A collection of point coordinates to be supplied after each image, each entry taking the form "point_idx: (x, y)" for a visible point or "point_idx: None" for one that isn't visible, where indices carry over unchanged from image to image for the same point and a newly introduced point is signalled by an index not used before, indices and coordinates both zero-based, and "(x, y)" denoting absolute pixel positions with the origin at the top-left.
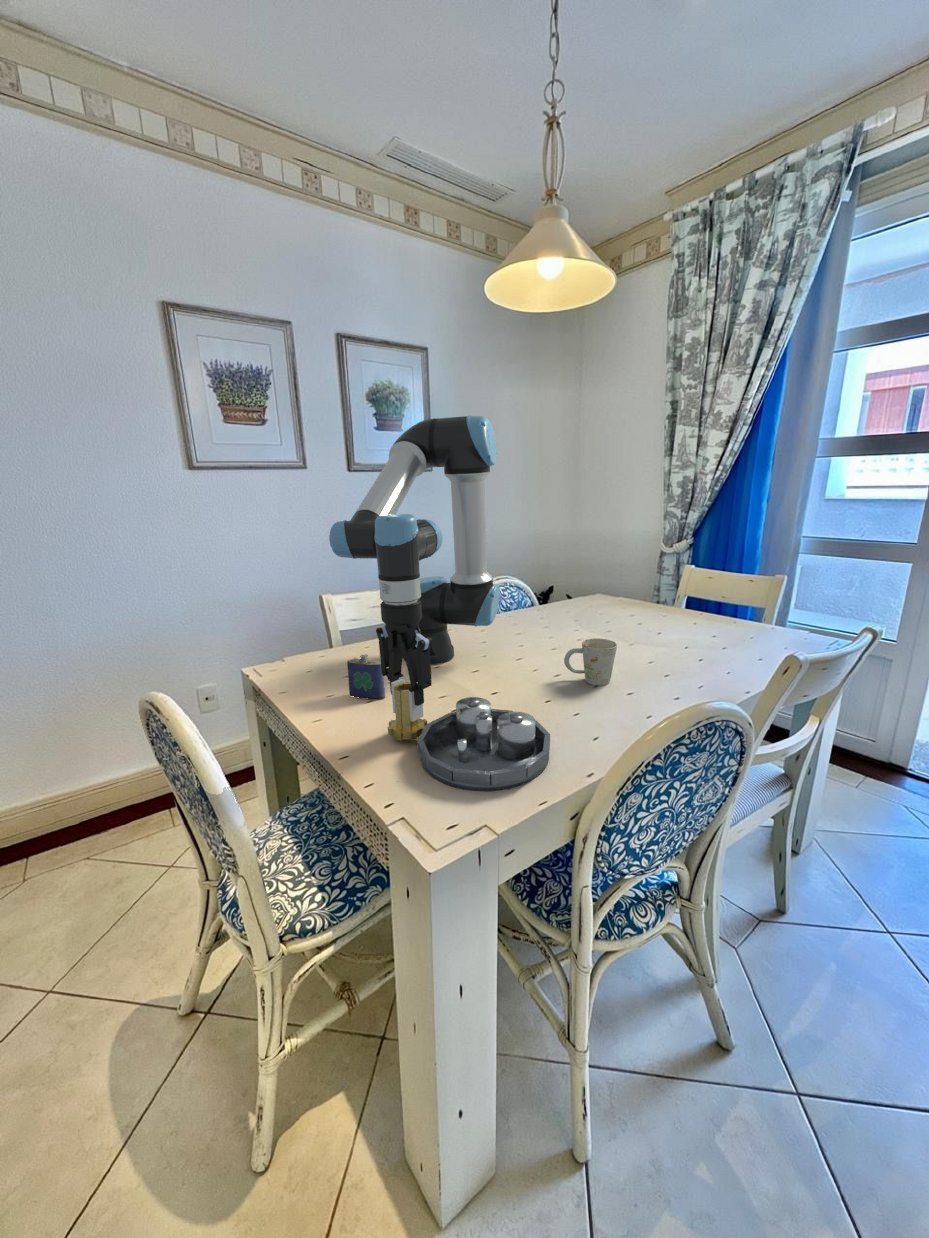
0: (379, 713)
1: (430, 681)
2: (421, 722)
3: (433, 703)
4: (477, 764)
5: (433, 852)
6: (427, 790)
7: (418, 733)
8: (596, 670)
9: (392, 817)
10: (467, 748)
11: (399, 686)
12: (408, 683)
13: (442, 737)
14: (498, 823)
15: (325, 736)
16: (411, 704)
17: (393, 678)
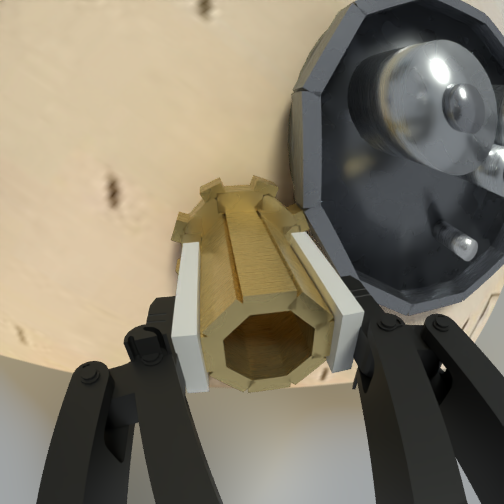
0: (45, 209)
1: (460, 336)
2: (269, 208)
3: (102, 26)
4: (464, 220)
5: None
6: (413, 315)
7: None
8: None
9: None
10: (427, 185)
11: (225, 358)
12: (238, 318)
13: (347, 186)
14: (500, 282)
15: (95, 359)
16: None
17: (184, 396)
